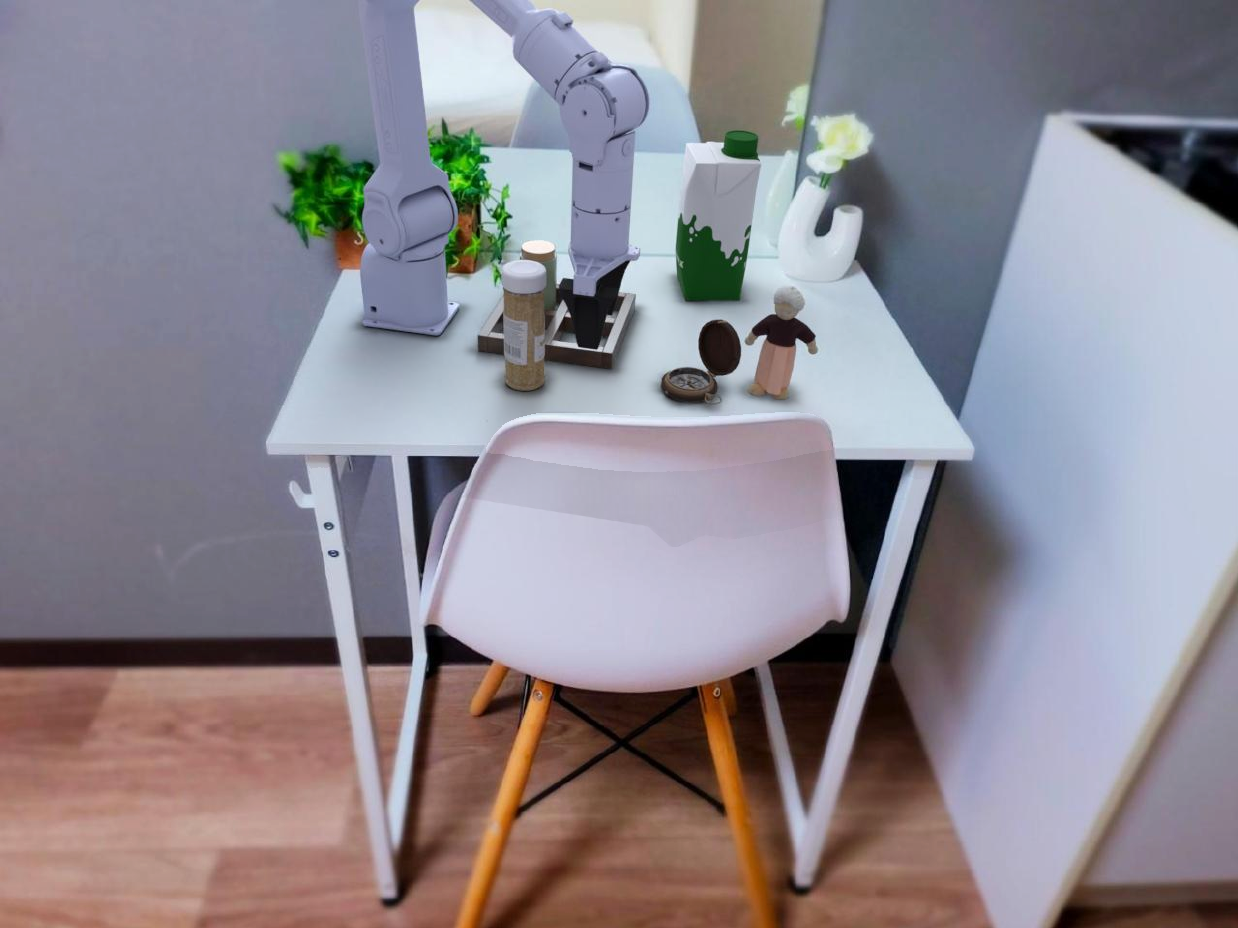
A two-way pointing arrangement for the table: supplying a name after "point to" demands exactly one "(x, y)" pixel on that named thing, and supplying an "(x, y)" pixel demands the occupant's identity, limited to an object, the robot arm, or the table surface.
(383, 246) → the robot arm
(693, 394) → the compass
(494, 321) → the holder
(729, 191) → the milk carton
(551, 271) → the spice jar
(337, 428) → the table surface
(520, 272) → the sprinkles bottle
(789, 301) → the grandmother figurine
